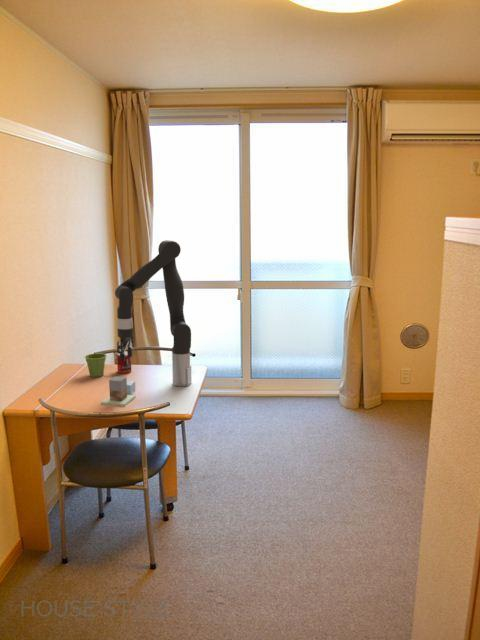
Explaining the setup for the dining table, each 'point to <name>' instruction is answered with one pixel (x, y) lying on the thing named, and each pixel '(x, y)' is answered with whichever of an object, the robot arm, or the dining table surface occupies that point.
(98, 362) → the plant pot
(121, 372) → the canned food
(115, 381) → the grey block
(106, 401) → the plate
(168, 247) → the robot arm
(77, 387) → the dining table surface
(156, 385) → the dining table surface
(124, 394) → the walnut block
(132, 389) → the blue block
